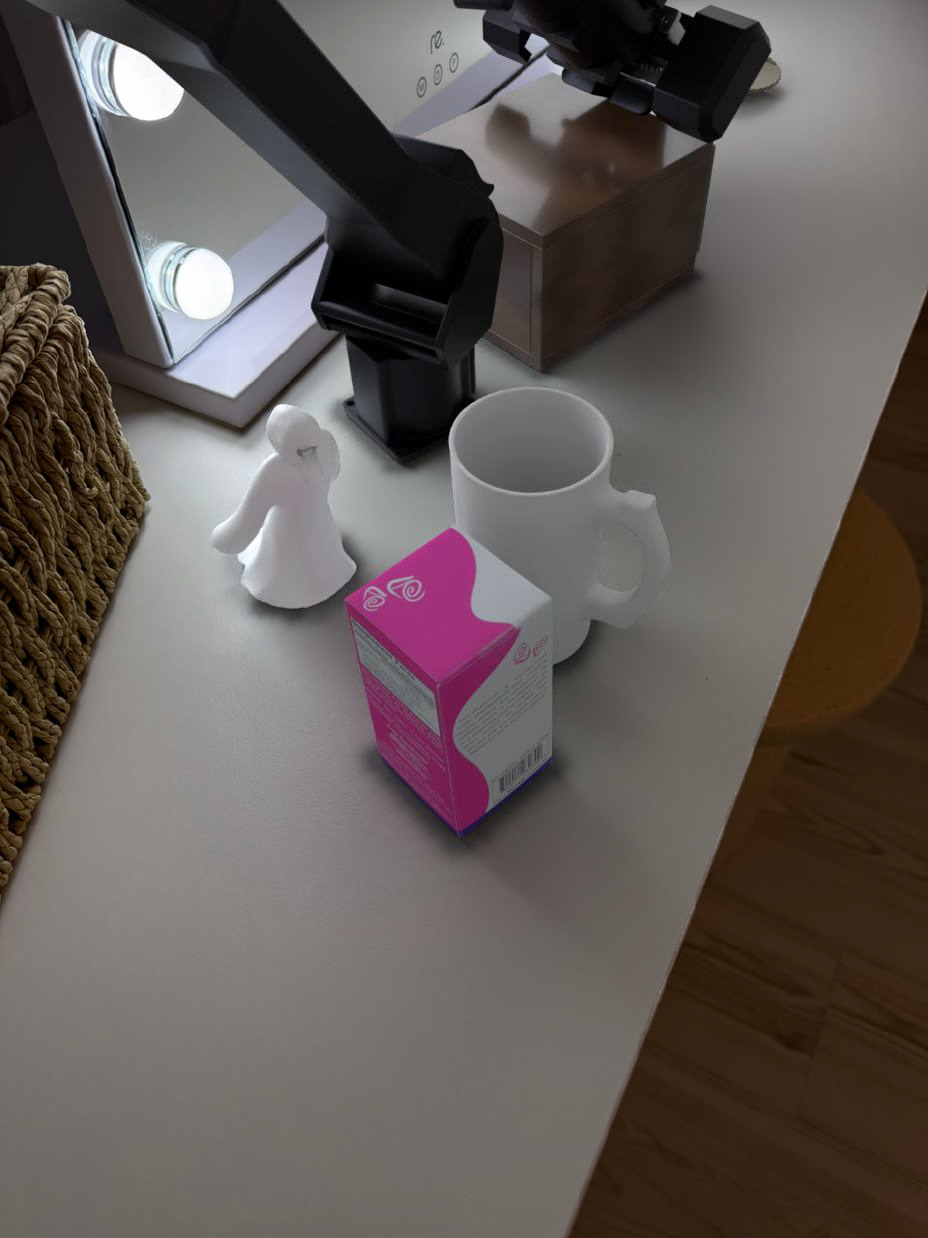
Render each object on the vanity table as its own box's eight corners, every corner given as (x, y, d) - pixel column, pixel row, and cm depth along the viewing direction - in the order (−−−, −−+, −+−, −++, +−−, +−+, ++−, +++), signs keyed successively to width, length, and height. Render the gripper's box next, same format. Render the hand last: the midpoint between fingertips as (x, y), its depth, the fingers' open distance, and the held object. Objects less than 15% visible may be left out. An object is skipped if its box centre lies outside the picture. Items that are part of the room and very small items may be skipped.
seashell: (752, 133, 85) (791, 71, 88) (761, 102, 82) (801, 39, 85) (662, 96, 87) (703, 37, 89) (668, 65, 84) (710, 5, 87)
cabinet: (548, 201, 77) (551, 71, 69) (693, 274, 70) (714, 139, 63) (396, 283, 71) (383, 151, 63) (540, 372, 64) (543, 235, 57)
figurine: (294, 649, 51) (244, 471, 42) (191, 573, 55) (124, 393, 45) (398, 560, 55) (373, 377, 45) (295, 494, 58) (253, 312, 49)
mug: (435, 641, 51) (417, 461, 42) (500, 553, 55) (498, 368, 45) (620, 724, 48) (647, 548, 38) (677, 624, 51) (714, 440, 42)
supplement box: (468, 685, 49) (457, 516, 40) (555, 763, 46) (564, 601, 38) (373, 756, 47) (339, 594, 38) (458, 843, 44) (444, 690, 35)
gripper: (785, -150, 49) (861, 22, 62) (511, -217, 58) (627, -54, 71) (659, 77, 52) (756, 196, 65) (418, -19, 61) (546, 102, 74)
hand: (669, 102), depth 69 cm, fingers closed, pressing on cabinet
